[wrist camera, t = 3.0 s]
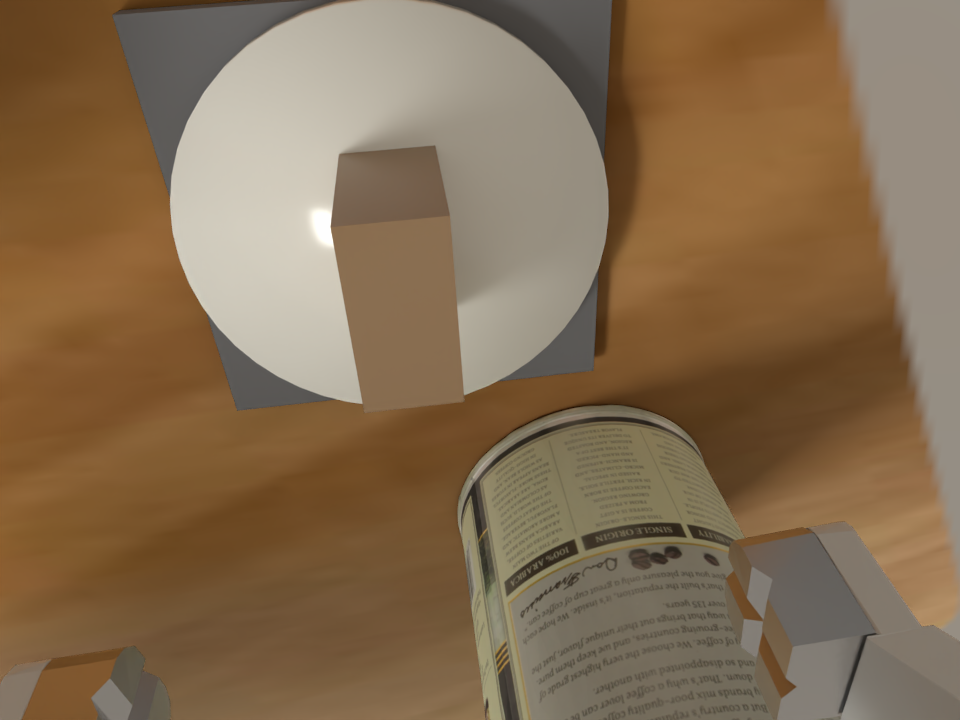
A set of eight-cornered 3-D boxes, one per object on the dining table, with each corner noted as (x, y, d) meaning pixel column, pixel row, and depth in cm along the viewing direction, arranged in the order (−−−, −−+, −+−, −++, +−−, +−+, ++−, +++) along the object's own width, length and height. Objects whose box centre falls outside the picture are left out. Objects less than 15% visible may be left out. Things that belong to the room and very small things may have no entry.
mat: (589, 360, 25) (593, 370, 25) (239, 399, 24) (237, 410, 24) (606, -27, 18) (613, -23, 18) (119, 10, 17) (112, 15, 17)
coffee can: (742, 513, 31) (958, 902, 19) (534, 612, 33) (618, 1013, 22) (645, 353, 25) (867, 766, 14) (404, 486, 28) (425, 934, 16)
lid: (592, 370, 25) (639, 479, 20) (236, 410, 24) (207, 532, 20) (613, -23, 18) (689, 16, 13) (112, 13, 17) (23, 69, 13)
